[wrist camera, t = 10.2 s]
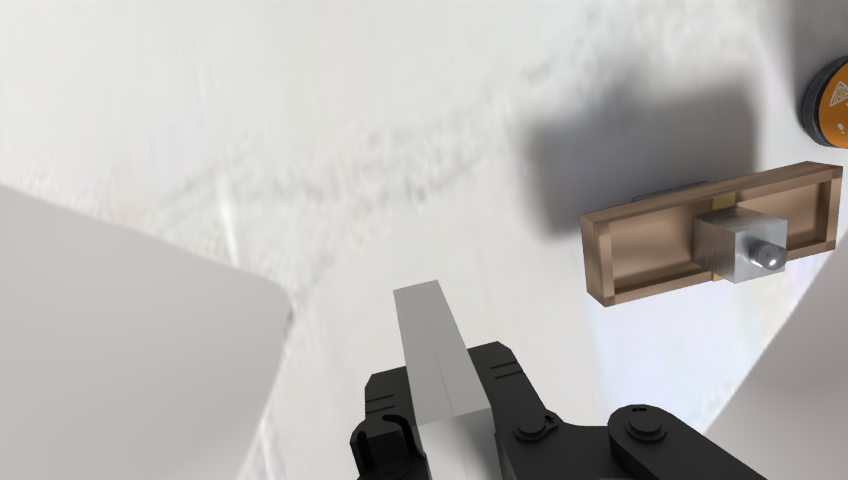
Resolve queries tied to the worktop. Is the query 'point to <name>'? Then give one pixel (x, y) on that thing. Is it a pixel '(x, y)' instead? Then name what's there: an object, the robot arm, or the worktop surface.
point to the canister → (828, 106)
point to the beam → (673, 228)
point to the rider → (740, 243)
